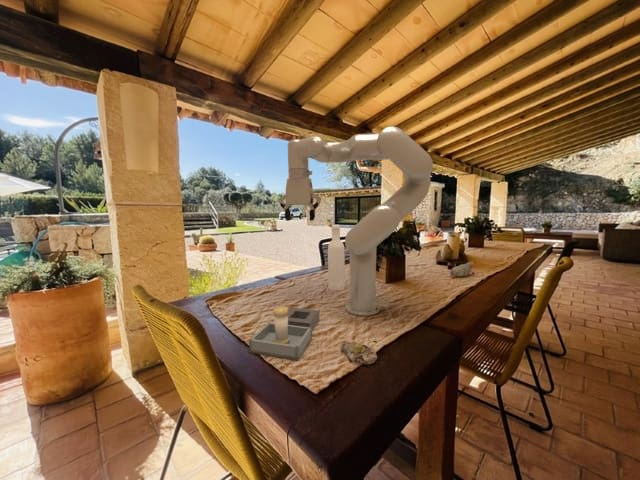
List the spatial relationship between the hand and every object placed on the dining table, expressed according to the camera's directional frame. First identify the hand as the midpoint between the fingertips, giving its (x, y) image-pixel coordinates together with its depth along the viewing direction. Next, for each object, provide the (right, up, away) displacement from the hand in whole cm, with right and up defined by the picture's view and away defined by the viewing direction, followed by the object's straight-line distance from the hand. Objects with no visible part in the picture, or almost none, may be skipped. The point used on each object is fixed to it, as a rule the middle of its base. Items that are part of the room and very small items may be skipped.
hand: (299, 220), depth 99 cm
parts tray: (-3, -37, -27) cm, 46 cm away
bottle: (+15, -31, +23) cm, 41 cm away
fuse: (-3, -36, -27) cm, 45 cm away
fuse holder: (+1, -35, -15) cm, 38 cm away
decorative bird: (+84, -27, +39) cm, 96 cm away
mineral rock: (+18, -38, -32) cm, 53 cm away
